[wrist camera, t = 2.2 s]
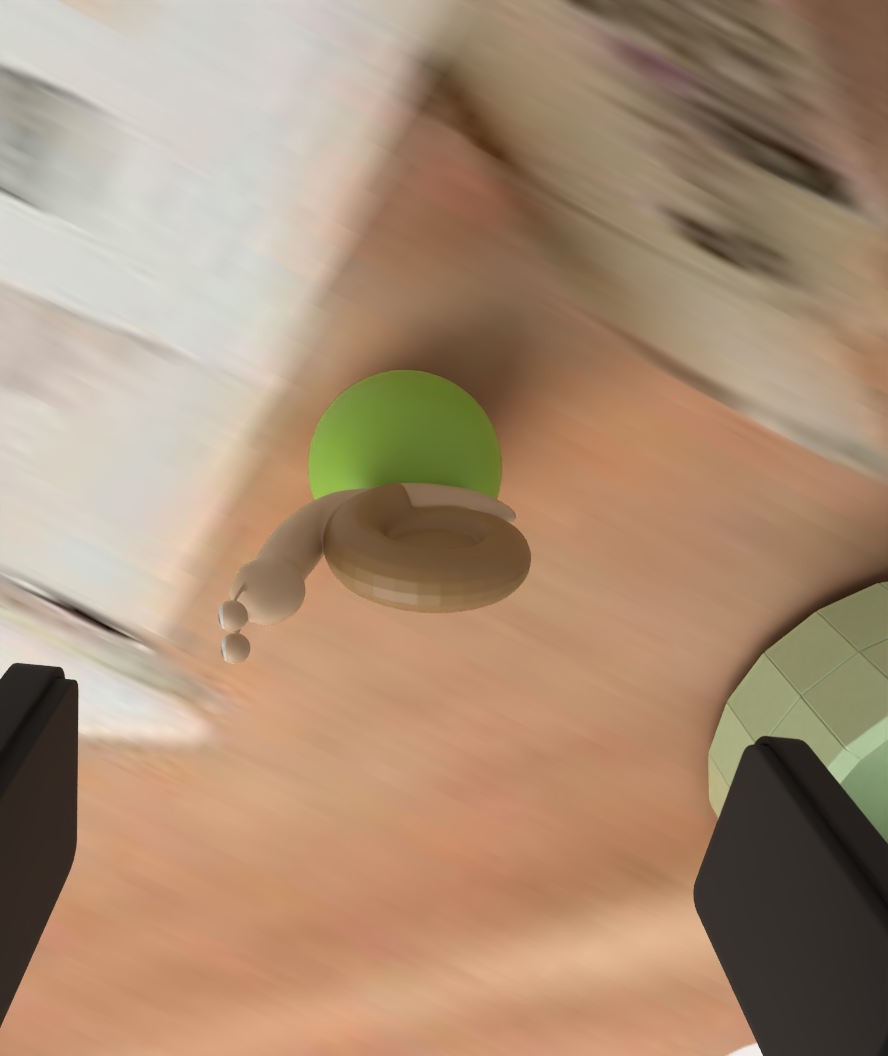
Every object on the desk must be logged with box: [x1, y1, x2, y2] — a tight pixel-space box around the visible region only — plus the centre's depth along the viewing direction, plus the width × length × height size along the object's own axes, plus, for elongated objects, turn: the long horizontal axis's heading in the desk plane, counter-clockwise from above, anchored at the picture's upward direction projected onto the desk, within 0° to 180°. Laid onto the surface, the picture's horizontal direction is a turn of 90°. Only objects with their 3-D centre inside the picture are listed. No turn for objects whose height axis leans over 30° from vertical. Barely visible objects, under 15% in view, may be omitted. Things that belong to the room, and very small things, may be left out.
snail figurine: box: [218, 370, 531, 664], centre depth 20 cm, size 5×6×12 cm
